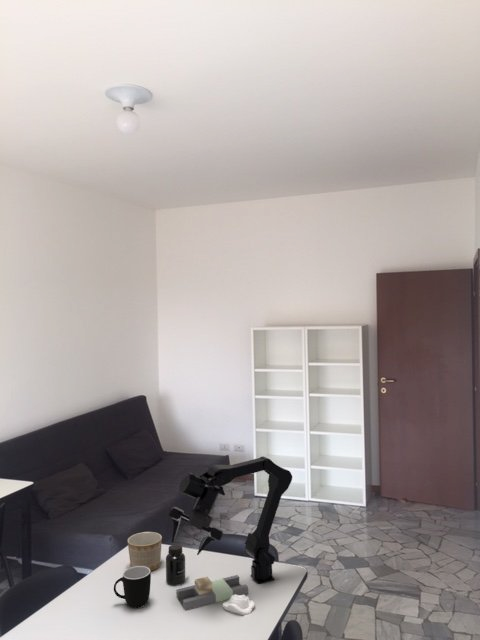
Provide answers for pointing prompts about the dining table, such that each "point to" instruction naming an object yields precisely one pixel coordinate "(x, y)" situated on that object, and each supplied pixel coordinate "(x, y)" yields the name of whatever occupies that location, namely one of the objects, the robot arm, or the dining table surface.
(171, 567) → the supplement bottle
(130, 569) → the mug
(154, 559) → the planter
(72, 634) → the dining table surface
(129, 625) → the dining table surface
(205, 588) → the birch block
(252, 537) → the robot arm
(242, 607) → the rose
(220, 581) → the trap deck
